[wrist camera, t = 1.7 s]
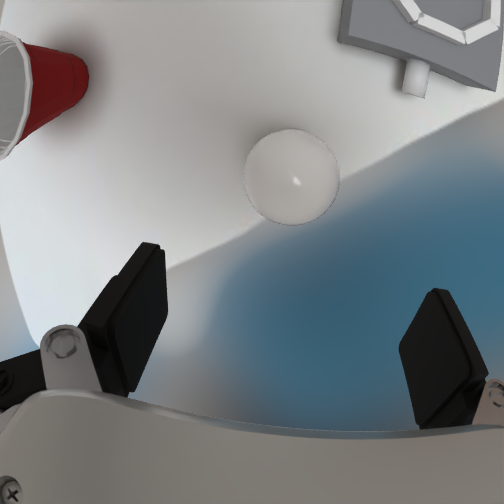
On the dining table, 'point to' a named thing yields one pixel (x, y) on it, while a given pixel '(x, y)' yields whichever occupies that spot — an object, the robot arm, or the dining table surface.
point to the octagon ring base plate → (430, 37)
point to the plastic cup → (35, 88)
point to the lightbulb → (291, 177)
